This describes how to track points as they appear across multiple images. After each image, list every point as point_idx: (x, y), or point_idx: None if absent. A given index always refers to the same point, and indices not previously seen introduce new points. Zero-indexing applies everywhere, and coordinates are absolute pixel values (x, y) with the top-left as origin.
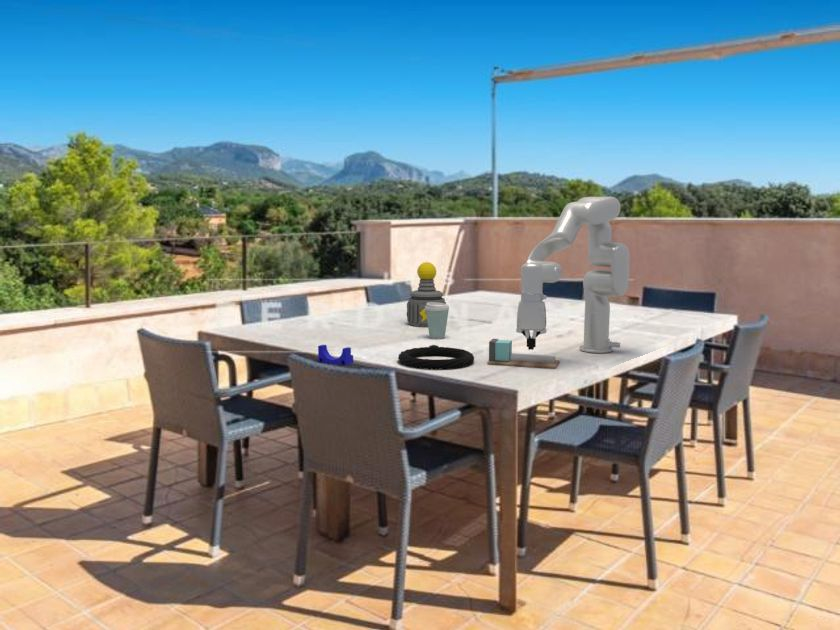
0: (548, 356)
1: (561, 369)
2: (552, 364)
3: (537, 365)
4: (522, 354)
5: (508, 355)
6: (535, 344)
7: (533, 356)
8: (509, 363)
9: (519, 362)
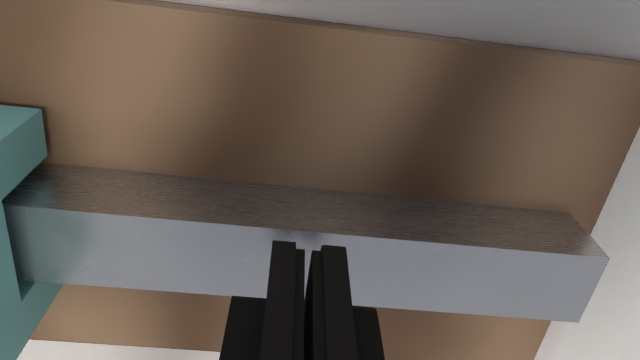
0: (515, 298)
1: (569, 354)
2: None
3: None
4: (189, 250)
5: (32, 328)
6: (376, 337)
7: None
8: (97, 331)
9: None
